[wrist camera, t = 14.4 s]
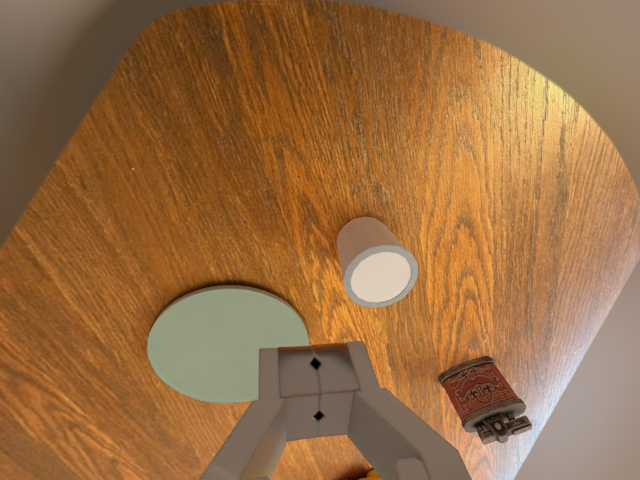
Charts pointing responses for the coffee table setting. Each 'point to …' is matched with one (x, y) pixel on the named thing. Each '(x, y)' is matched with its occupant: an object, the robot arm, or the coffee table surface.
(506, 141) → the coffee table surface
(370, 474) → the teapot
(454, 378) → the lighter
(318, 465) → the coffee table surface
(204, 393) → the plate
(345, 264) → the shot glass
